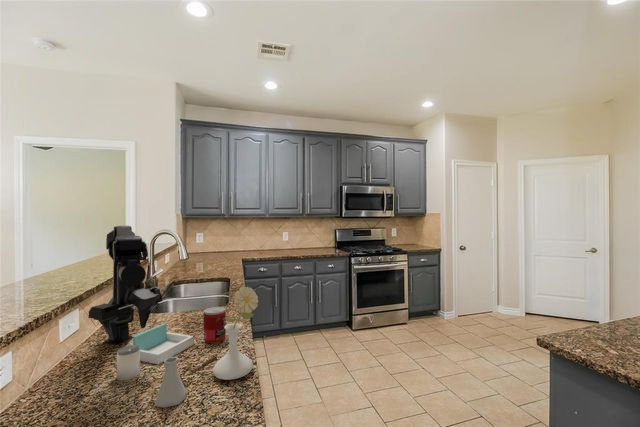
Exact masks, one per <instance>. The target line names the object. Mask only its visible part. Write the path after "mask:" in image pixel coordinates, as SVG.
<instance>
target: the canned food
mask: <svg viewBox="0 0 640 427" xmlns="http://www.w3.org/2000/svg"><path fill="white" fill-rule="evenodd" d="M226 316H227V315H226V308H225V307H222V306H212V307H208V308H205V309H204V310H203V341H204V342H205V343H208V344H216V343H219V342H223V341H224V340H225V339H226V333H227V331H226V329H225V328H224V326H226V325H227V324H226V321H227V320H226Z"/></svg>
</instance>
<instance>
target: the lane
mask: <svg viewBox="0 0 640 427" xmlns="http://www.w3.org/2000/svg"><path fill="white" fill-rule="evenodd" d="M192 346H194V335H188V334H182V333H176V332H170V331H169V332H167V340H166V341H164V342H162V343H160V344H158V345H156V346H154V347H151V348H149V349H147V350H140V362H144V363H149V364H153V365H159V364H161V363H162V364H163V363H164V360H165V359H167V358H169V357H175V356H176V355H178V354H180V353H181V352H183V351H185V350H187V349H188V348H191V347H192Z"/></svg>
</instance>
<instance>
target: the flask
mask: <svg viewBox="0 0 640 427" xmlns="http://www.w3.org/2000/svg"><path fill="white" fill-rule="evenodd" d="M178 360H179V357H178V356H173V357H169V358H167V359H165V360H164V362H163V364H164V365H165V366H164V369H165V370H164V375H163V379H162V381H161V384H160V387H159V390H158V393H157V396H156V398H155V403H154V407H157V408H158V407H159V408H163V409H164V408H169V407H175V406H177V405H180V403H182V402H183V401H184V400H185V399H186V398H187V389H186V386H185V385H184V383H183V381H182V378H181V376H180V373H179V371H178V370H179V369H178V363H177V362H178Z"/></svg>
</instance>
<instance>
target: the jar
mask: <svg viewBox="0 0 640 427" xmlns="http://www.w3.org/2000/svg"><path fill="white" fill-rule="evenodd" d="M116 352H117V353H116V380H118V381H120V382H122V381H123V380H124V381H128V380H129V381H130V380H132V379H134V377H135V378H137V377H138V376H139V375H140V373H141V361H140V348H139V346H138V345H133V344H130V345H126V346H123V347H121V348H119V349H118V350H117V351H116ZM137 375H138V376H137Z"/></svg>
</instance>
